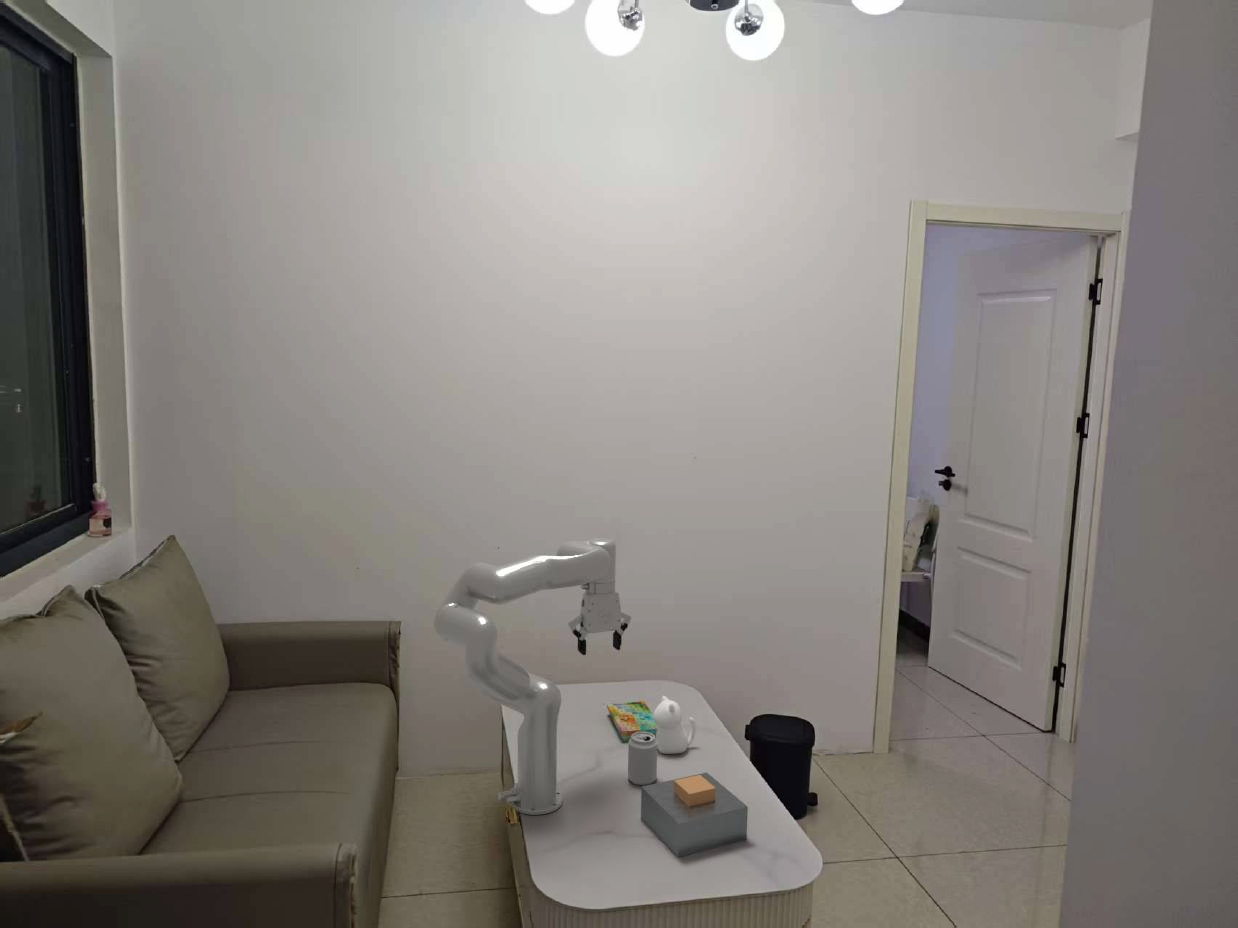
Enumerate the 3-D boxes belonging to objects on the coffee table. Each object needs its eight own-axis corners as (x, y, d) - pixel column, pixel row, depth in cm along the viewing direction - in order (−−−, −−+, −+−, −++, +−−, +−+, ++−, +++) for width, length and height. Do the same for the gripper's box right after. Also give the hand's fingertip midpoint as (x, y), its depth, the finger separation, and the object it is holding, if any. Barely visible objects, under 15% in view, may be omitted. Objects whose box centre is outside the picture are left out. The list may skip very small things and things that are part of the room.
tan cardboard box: (688, 831, 203) (689, 794, 202) (673, 816, 209) (674, 780, 208) (714, 824, 206) (715, 787, 205) (698, 810, 212) (700, 774, 211)
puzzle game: (621, 728, 252) (606, 701, 271) (620, 744, 252) (606, 715, 272) (661, 725, 254) (644, 698, 274) (660, 741, 255) (644, 712, 274)
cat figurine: (647, 746, 251) (647, 695, 249) (688, 739, 255) (688, 689, 253) (659, 760, 242) (659, 707, 240) (701, 753, 247) (701, 701, 244)
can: (654, 788, 227) (655, 743, 225) (625, 784, 228) (626, 740, 227) (658, 774, 234) (659, 731, 232) (630, 771, 235) (631, 728, 234)
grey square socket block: (677, 857, 196) (678, 823, 195) (640, 818, 212) (641, 786, 211) (746, 839, 204) (747, 806, 203) (705, 802, 220) (706, 772, 219)
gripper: (575, 593, 221) (574, 660, 223) (637, 586, 228) (636, 651, 230) (563, 586, 227) (563, 650, 230) (624, 579, 235) (623, 642, 237)
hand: (599, 651), depth 230 cm, fingers open, 9 cm apart
